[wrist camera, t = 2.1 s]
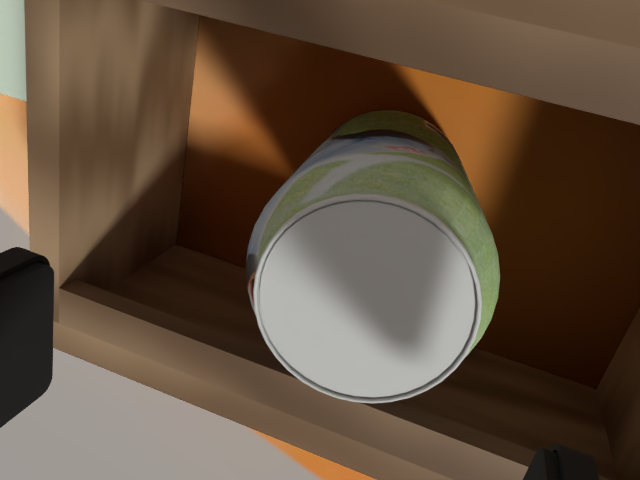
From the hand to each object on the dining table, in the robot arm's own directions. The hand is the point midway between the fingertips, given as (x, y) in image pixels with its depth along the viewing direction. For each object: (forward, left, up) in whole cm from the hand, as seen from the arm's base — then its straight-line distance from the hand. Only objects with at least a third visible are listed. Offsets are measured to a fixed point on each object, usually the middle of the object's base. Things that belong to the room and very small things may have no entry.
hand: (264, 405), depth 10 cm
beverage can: (-1, 0, -15) cm, 15 cm away
